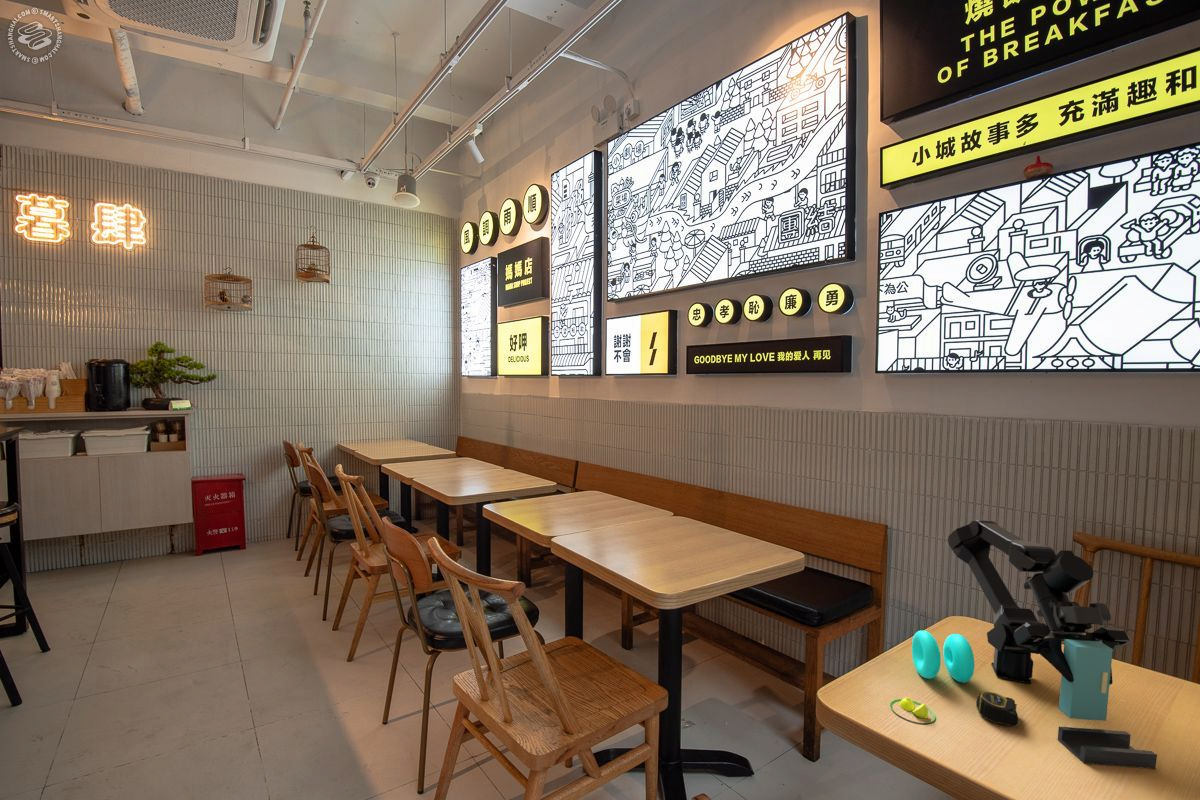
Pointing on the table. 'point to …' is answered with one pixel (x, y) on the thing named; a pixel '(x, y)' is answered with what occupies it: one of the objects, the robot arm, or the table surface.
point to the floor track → (1105, 747)
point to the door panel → (1086, 680)
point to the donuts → (954, 654)
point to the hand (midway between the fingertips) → (1090, 682)
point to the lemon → (909, 706)
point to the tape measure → (997, 708)
